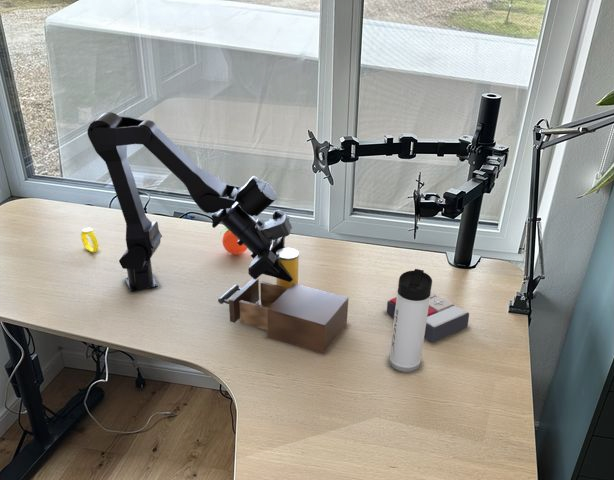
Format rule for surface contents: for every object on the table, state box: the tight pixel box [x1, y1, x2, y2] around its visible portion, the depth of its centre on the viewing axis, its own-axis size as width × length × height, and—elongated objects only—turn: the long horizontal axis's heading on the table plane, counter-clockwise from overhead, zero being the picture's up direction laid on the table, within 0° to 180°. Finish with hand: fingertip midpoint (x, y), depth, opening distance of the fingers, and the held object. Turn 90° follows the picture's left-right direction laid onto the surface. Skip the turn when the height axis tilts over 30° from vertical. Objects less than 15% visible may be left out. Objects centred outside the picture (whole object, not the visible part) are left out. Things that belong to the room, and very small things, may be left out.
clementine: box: [220, 227, 248, 255], centre depth 170 cm, size 8×7×7 cm
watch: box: [80, 227, 100, 254], centre depth 169 cm, size 6×3×6 cm, turn 46°
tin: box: [275, 247, 300, 288], centre depth 151 cm, size 5×5×10 cm
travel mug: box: [388, 268, 433, 373], centre depth 128 cm, size 6×7×20 cm
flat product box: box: [386, 291, 470, 344], centre depth 146 cm, size 11×4×15 cm
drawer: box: [217, 277, 288, 331], centre depth 145 cm, size 16×11×6 cm
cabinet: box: [267, 283, 349, 355], centre depth 140 cm, size 13×12×7 cm
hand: (293, 275), depth 151 cm, fingers closed on tin, 5 cm apart
